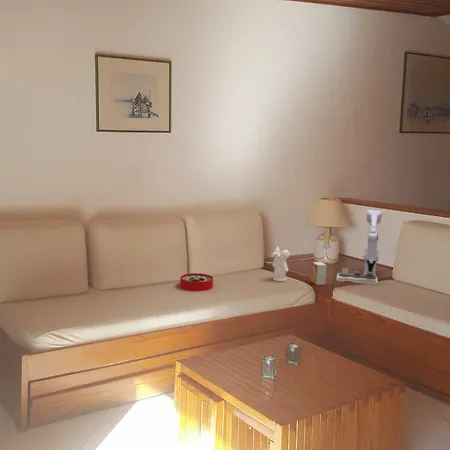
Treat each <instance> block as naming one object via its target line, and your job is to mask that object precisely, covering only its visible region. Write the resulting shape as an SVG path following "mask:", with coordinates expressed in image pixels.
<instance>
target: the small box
mask: <svg viewBox="0 0 450 450" xmlns="http://www.w3.org/2000/svg"><path fill="white" fill-rule="evenodd" d="M326 278H327V264H326V263H324V262H322V261H313V262H312V264H311V278H310V282H311V283H313V284H315V286H321V285H322V286H323V285H326Z"/></svg>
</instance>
